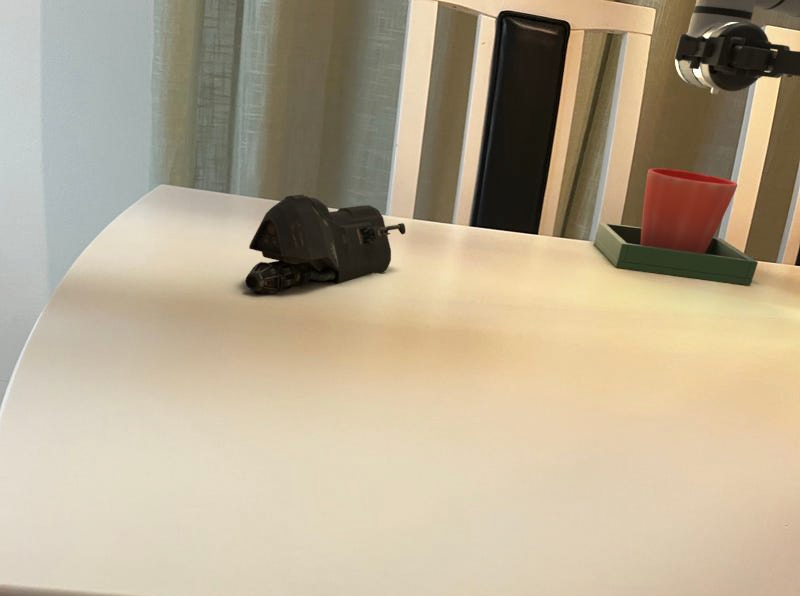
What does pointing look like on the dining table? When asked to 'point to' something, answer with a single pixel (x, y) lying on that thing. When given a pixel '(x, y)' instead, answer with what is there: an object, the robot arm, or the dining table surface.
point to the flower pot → (683, 209)
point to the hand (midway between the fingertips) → (785, 59)
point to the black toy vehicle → (318, 244)
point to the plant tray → (674, 257)
